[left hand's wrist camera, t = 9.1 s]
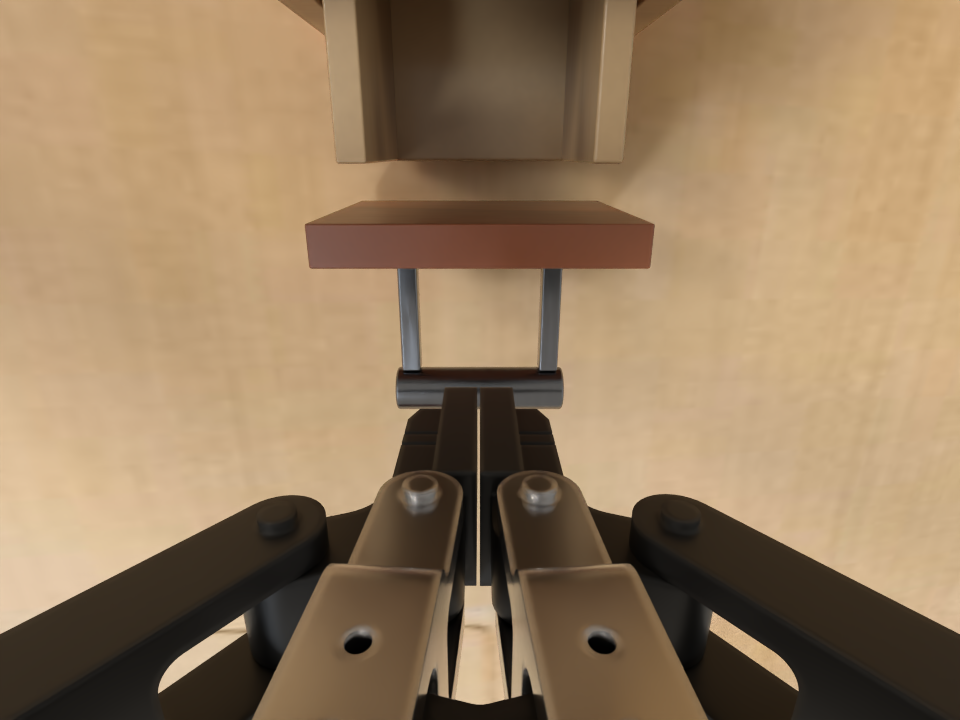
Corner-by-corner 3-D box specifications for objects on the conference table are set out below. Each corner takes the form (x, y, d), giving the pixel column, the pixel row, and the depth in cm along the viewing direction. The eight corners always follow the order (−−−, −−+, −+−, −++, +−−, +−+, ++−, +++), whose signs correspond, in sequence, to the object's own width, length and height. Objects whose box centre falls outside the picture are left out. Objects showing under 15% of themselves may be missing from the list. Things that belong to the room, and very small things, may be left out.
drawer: (587, 354, 24) (631, 438, 17) (372, 354, 24) (327, 438, 17) (639, -367, 16) (765, -774, 9) (319, -367, 16) (194, -774, 9)
